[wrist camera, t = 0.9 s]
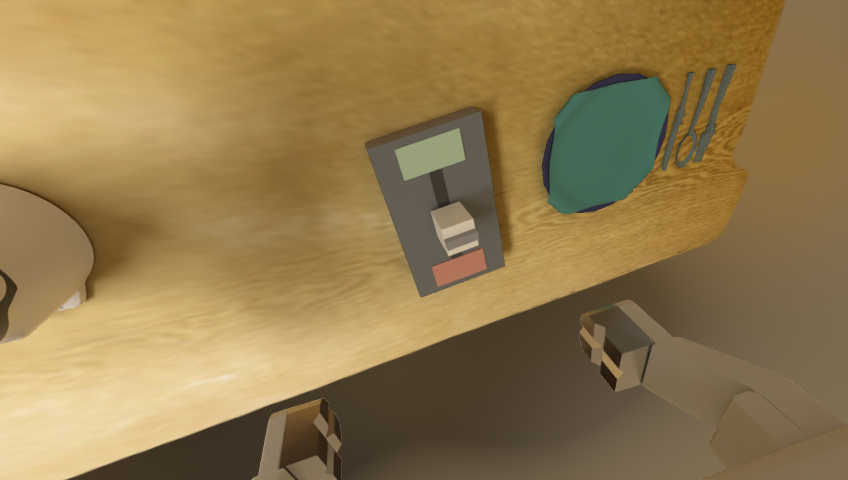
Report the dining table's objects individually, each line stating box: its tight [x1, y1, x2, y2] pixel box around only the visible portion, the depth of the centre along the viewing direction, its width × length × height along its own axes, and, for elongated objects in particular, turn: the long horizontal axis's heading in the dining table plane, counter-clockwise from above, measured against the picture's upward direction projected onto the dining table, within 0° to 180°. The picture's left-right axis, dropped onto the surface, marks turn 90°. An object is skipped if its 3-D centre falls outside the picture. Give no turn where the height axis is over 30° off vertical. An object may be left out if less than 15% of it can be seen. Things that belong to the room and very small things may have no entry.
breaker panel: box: [365, 107, 505, 297], centre depth 46 cm, size 14×24×3 cm, turn 14°
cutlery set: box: [542, 64, 736, 214], centre depth 49 cm, size 20×30×2 cm, turn 97°
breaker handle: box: [431, 202, 479, 256], centre depth 42 cm, size 4×4×6 cm
